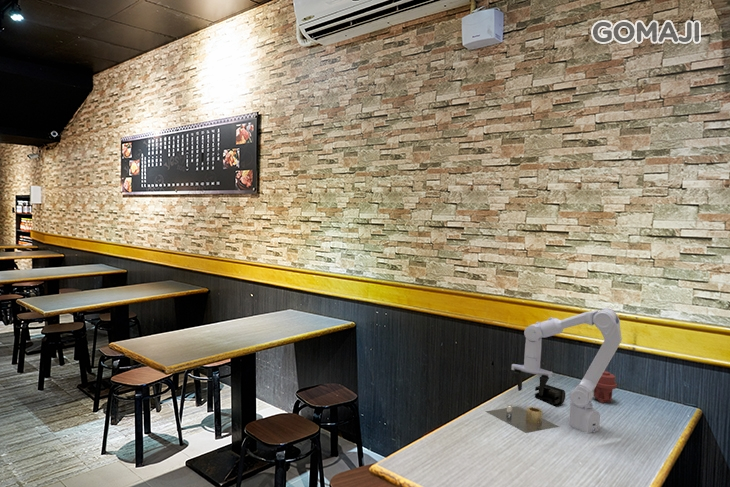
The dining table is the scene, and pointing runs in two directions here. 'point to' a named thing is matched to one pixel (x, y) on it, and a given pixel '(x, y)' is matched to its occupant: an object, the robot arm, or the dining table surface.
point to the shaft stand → (520, 419)
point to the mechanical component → (605, 387)
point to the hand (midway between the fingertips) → (530, 392)
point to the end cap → (551, 395)
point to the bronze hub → (534, 415)
